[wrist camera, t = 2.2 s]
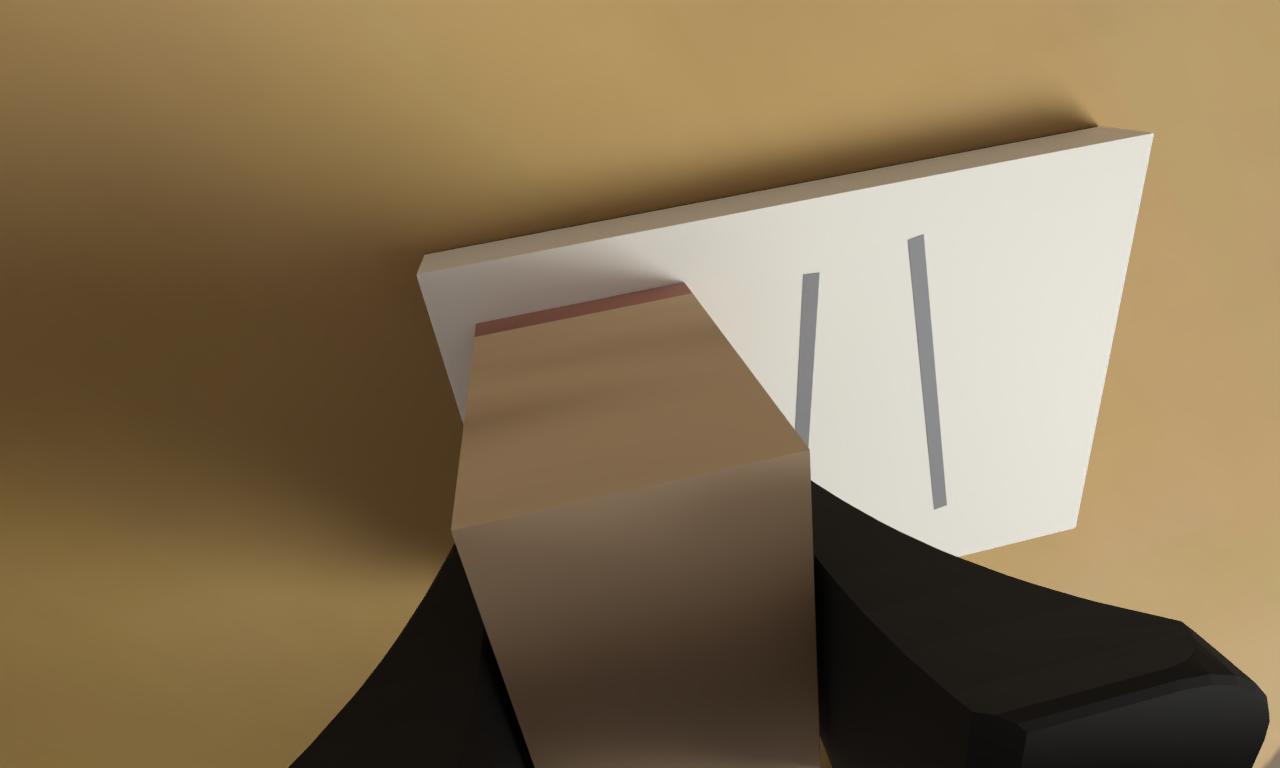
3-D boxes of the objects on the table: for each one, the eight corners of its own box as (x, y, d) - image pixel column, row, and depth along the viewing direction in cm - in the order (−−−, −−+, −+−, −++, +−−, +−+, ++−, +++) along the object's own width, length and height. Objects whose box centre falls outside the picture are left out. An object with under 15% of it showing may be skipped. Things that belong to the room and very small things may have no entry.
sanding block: (720, 582, 15) (822, 841, 10) (559, 620, 15) (584, 907, 10) (684, 282, 12) (809, 449, 7) (475, 323, 11) (451, 530, 6)
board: (1040, 498, 17) (1075, 528, 16) (535, 619, 16) (537, 661, 15) (1100, 126, 13) (1154, 133, 12) (424, 254, 12) (415, 275, 11)
